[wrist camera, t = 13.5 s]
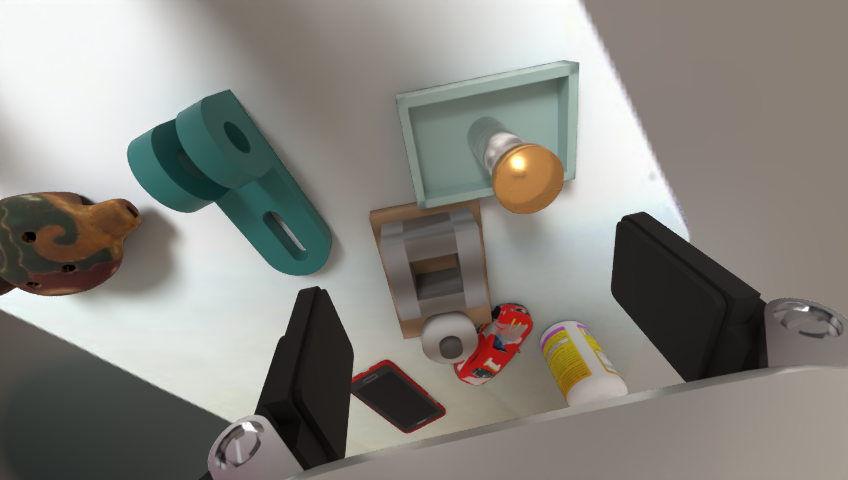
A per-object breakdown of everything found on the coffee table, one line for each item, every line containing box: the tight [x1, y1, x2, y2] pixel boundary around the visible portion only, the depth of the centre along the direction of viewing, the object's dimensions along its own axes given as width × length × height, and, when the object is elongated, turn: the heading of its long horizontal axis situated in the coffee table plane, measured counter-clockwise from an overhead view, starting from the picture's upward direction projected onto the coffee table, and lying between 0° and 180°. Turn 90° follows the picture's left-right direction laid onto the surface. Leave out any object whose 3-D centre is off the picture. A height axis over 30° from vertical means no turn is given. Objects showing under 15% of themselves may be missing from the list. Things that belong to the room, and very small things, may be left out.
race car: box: [454, 303, 533, 386], centre depth 46 cm, size 13×5×4 cm, turn 148°
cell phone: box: [351, 360, 445, 433], centre depth 52 cm, size 8×15×1 cm, turn 35°
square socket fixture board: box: [369, 198, 492, 364], centre depth 38 cm, size 17×11×8 cm, turn 10°
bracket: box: [127, 89, 332, 276], centre depth 32 cm, size 18×7×8 cm, turn 26°
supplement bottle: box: [540, 321, 628, 407], centre depth 43 cm, size 7×7×13 cm
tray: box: [396, 60, 579, 210], centre depth 33 cm, size 10×15×3 cm, turn 100°
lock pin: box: [467, 117, 564, 214], centre depth 28 cm, size 4×4×12 cm
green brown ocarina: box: [0, 192, 141, 296], centre depth 32 cm, size 10×15×8 cm, turn 115°
